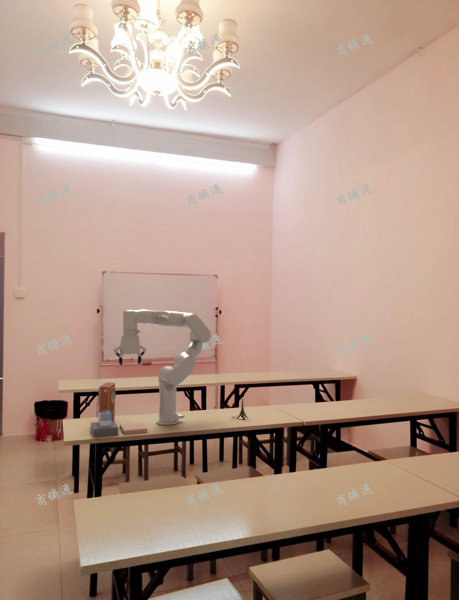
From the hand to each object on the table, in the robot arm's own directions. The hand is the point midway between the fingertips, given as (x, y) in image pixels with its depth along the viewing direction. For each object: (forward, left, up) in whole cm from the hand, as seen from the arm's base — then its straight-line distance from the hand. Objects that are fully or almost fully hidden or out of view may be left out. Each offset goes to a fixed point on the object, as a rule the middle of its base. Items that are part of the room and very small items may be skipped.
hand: (130, 364), depth 252 cm
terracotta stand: (-1, +6, -34) cm, 35 cm away
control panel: (+10, -14, -34) cm, 38 cm away
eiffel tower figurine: (-66, +2, -35) cm, 75 cm away
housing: (+14, +6, -30) cm, 34 cm away
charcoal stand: (+14, +6, -34) cm, 37 cm away
